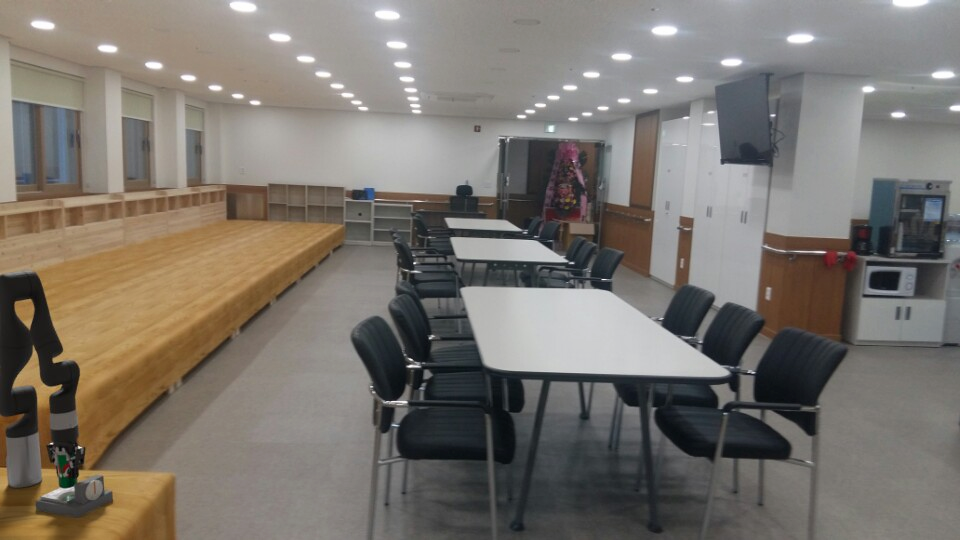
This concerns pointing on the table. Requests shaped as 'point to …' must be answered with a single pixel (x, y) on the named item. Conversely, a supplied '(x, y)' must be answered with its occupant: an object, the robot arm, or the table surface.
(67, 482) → the soda can
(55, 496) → the scale platform
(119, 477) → the table surface
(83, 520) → the table surface
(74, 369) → the robot arm
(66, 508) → the scale base
